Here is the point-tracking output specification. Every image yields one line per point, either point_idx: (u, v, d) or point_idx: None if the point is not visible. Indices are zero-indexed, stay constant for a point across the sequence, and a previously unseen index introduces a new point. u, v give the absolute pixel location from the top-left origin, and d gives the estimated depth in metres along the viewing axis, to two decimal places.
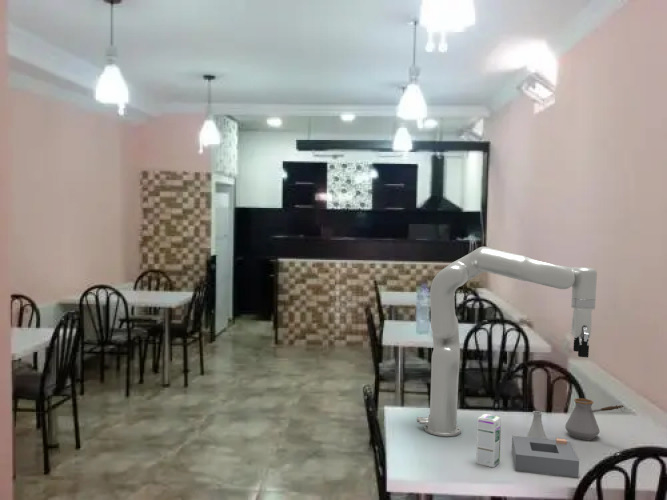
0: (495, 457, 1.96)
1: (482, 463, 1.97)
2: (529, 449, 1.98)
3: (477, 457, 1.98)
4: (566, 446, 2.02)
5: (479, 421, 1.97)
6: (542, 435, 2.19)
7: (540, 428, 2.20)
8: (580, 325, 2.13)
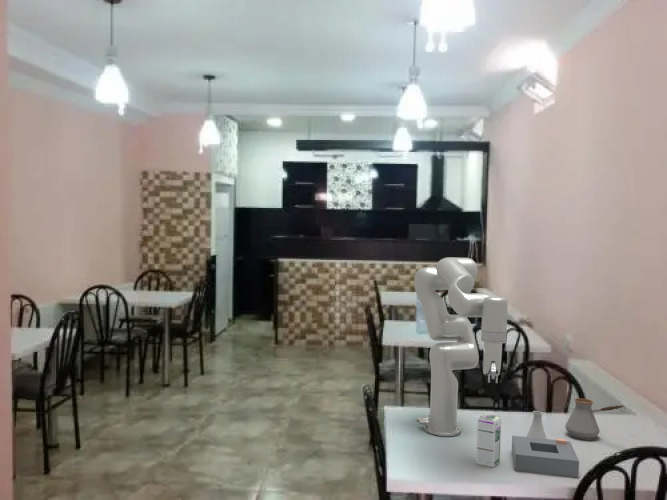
0: (495, 457, 1.96)
1: (482, 463, 1.97)
2: (529, 449, 1.98)
3: (477, 457, 1.98)
4: (566, 446, 2.02)
5: (479, 421, 1.97)
6: (542, 435, 2.19)
7: (540, 428, 2.20)
8: (488, 361, 1.93)
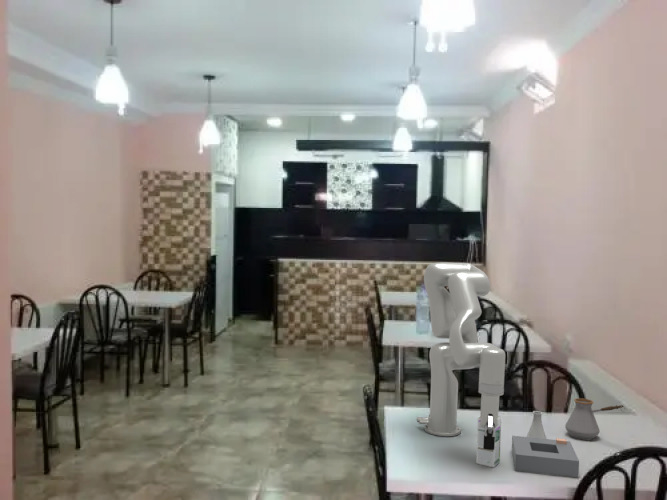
0: (495, 457, 1.96)
1: (482, 463, 1.97)
2: (529, 449, 1.98)
3: (477, 457, 1.98)
4: (566, 446, 2.02)
5: (479, 421, 1.97)
6: (542, 435, 2.19)
7: (539, 428, 2.20)
8: (485, 413, 1.94)
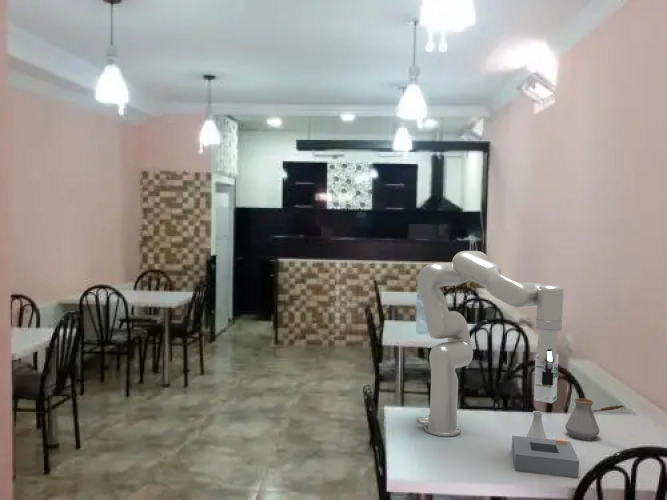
0: (553, 393, 1.96)
1: (540, 399, 1.98)
2: (529, 449, 1.98)
3: (535, 394, 1.99)
4: (566, 446, 2.02)
5: (537, 358, 1.98)
6: (542, 435, 2.19)
7: (540, 428, 2.20)
8: (544, 349, 1.94)
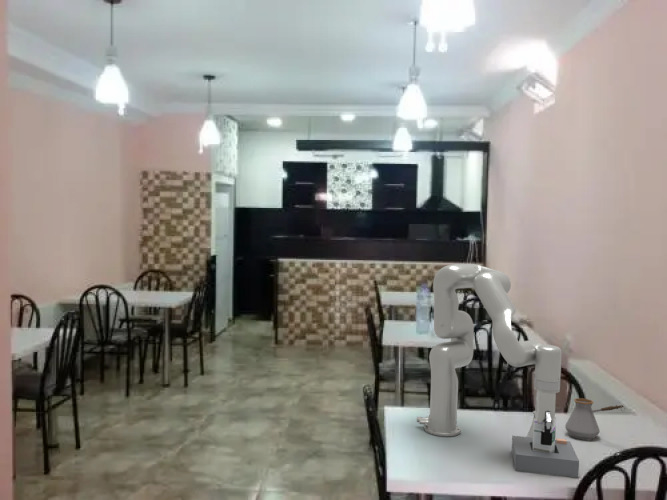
0: None
1: None
2: (529, 449, 1.98)
3: None
4: (566, 446, 2.02)
5: (535, 422, 1.99)
6: None
7: None
8: (543, 410, 1.95)
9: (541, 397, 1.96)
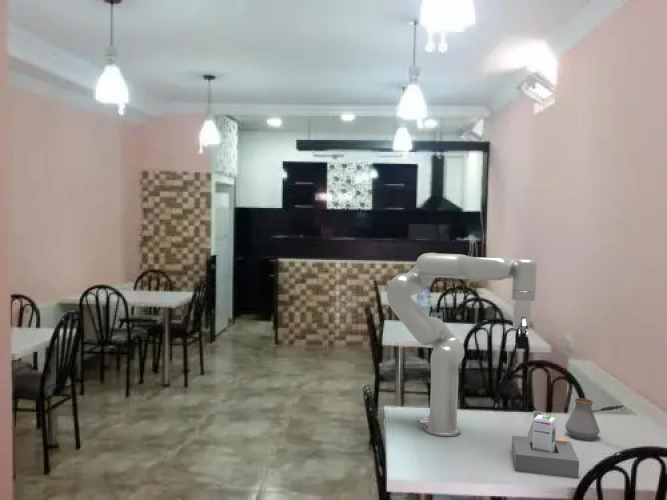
0: None
1: None
2: (529, 449, 1.98)
3: None
4: (566, 446, 2.02)
5: (535, 422, 1.99)
6: None
7: None
8: (519, 317, 2.12)
9: (517, 305, 2.13)
